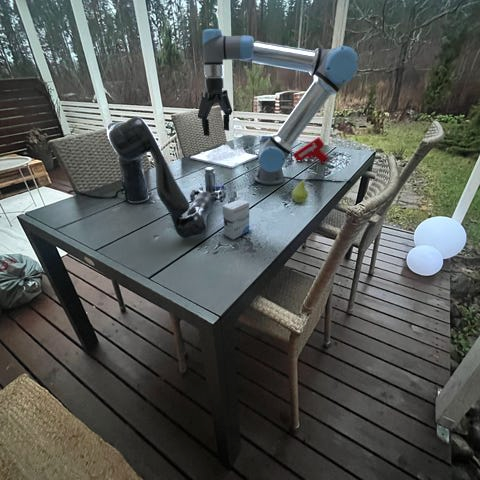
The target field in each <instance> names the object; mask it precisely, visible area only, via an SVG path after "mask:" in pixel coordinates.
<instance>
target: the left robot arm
mask: <svg viewBox="0 0 480 480" xmlns="http://www.w3.org/2000/svg"><path fill="white" fill-rule="evenodd" d="M106 134H107V138H108V141H109V143H110V146H111V147H112V149H113V150H114V152H115V153H116V154H117V155H118V156H117V163H118V166H119V170H120V175H121V177H122V180H121V186H122V187H121V188H120V189H118V190H116V191H115V195H112V196H104V195H95V194H90V193H87V192H83V191H79V190H75V189H70V190H68V192H67V195H68V194H71V193H76V194H80V195H85V196H88V197H92V198H99V199H115V198H117V197H118V196H119V195H118V194H119V193H120V192H121V194H123V195H124V199H125V201H126V203H129V204H133V205H134V204H135V205H136V204H137V205H138V204H143V203H145V202H146V203H147V202H148V201H149V200H150V196H149V188H148V185H147V180H146V176H145V172H144V171H145V170H144V166H143V162H142V156H144V155H146V154H147V153H150V155H151V157H152V159H153V162H154V166H155V167H154V168H155V185H156V187H155V188H156V192H157V196H158V198H159V199H160V201H161V203H162V204H163V206H164V207H165V209H166V210H167V211H168V213H169V216H170V219H171V221H172V223H173V227H174V230H175V232H176V234H177V236H179V237H180V238H183V239H188V238H191V237H195V236H197V235H201V234H203V233H204V232H205V231H206V230H207V228H208V224H207V222H208V221H207V218H208V216H209V214H210V213H211V211H212V209H213V207H214V206H215V205H214V203H215V201H217V202H218V201H220V203H224V201H225V199H226V198H227V196H226V193H227V192H226V191H225V190H224V189H222V188H220V189H219V190H216V191H214V192H210V193H208V192H206V191H204V187H203V186H200V187H199V188H198V189H197V190H196V189H192V190H191V193H190V194H189V200H190V202H192V203H191V204H190V203H189V200H188V199H187V197H186V195H185V194H184V192H183V191H182V189H181V188H180V186H179V184H178V182H177V180H176V179H175V176H174V175H173V172H172V170H171V168H170V165H169V164H168V161H167V159H166V157H165V155H164V153H163V151H162V149H161V146H160V145H159V142H158V141H157V139H156V137H155V134H154V133H153V132H152V130H151V128H150V126H149V125H148V123H147V122H146V121H145V120H144V119H143V118H142V117H140V116H134V117H132V118H129V119H128V120H126V121H116V122H110V123H108V124H107V127H106ZM214 194H215V195H214ZM190 205H191V206H190ZM185 213H186V215H187V216H184V214H185Z"/></svg>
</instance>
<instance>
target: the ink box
mask: <svg viewBox="0 0 480 480" xmlns="http://www.w3.org/2000/svg"><path fill="white" fill-rule="evenodd" d="M222 213H223V233H224V236H225V237H227V238H229V239H231V240H235V239H237V238H239V237H241V236H242V235H244V234H247V233H248V232H250V202H249V201H246V200H244V199H242V198H238V199H236V200H234V201H232V202H229V203H226V204H224V205H222Z"/></svg>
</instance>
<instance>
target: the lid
mask: <svg viewBox="0 0 480 480" xmlns="http://www.w3.org/2000/svg"><path fill="white" fill-rule="evenodd" d="M215 184H216V191H219V189H220V188H222V189H223V190H224V189H225V185H224V183H222V182H217V183H216V182H215Z"/></svg>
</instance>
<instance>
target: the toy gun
mask: <svg viewBox="0 0 480 480" xmlns="http://www.w3.org/2000/svg"><path fill="white" fill-rule="evenodd" d="M324 145H325V143H324V142H323V140H322V138H321V137H320V136H318V137H316V138H314V139H313V140H311V141H310V142H308V143H306V145H304V146H303V147H301V148H299V149H298V150H296V151H295V152H294V153H293V158H294V159H295V160H296V163H300V162H301V161H297V160H302V161H303V160H305V159H306V158H309V160H313V159H314V158H316V159H317V160H319V161H320V163H321V162H324V163H325V161H326V163H327V162H328V159H329V156H328V155H327V154H326V153H325V152H323V151H322V150H321V149H323V147H324ZM324 163H321V165H323V164H324Z"/></svg>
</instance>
